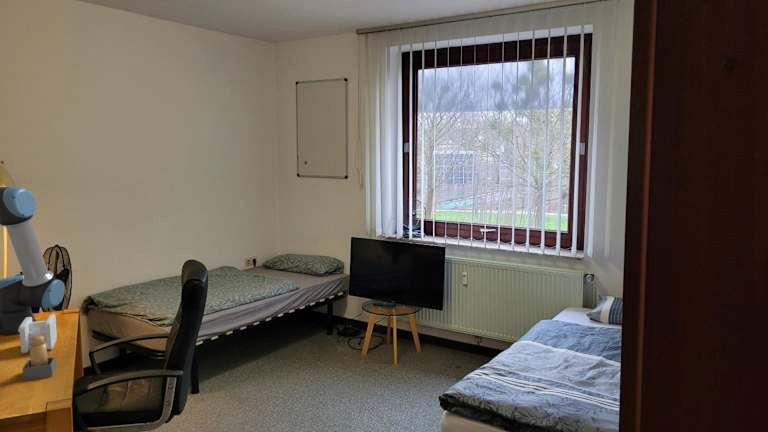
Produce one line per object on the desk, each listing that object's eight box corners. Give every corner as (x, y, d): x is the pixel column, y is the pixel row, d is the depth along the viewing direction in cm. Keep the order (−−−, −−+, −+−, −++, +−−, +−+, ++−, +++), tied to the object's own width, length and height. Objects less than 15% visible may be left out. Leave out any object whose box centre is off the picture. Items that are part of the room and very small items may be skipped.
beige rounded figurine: (32, 367, 199) (30, 335, 197) (49, 365, 201) (47, 334, 199) (30, 373, 194) (27, 340, 193) (46, 371, 196) (44, 338, 195)
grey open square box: (28, 371, 200) (27, 360, 200) (56, 367, 203) (55, 356, 203) (23, 380, 192) (22, 368, 192) (52, 376, 195) (51, 365, 195)
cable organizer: (52, 352, 218) (49, 322, 217) (19, 356, 215) (17, 326, 213) (57, 340, 232) (55, 312, 231) (27, 343, 228) (25, 315, 227)
